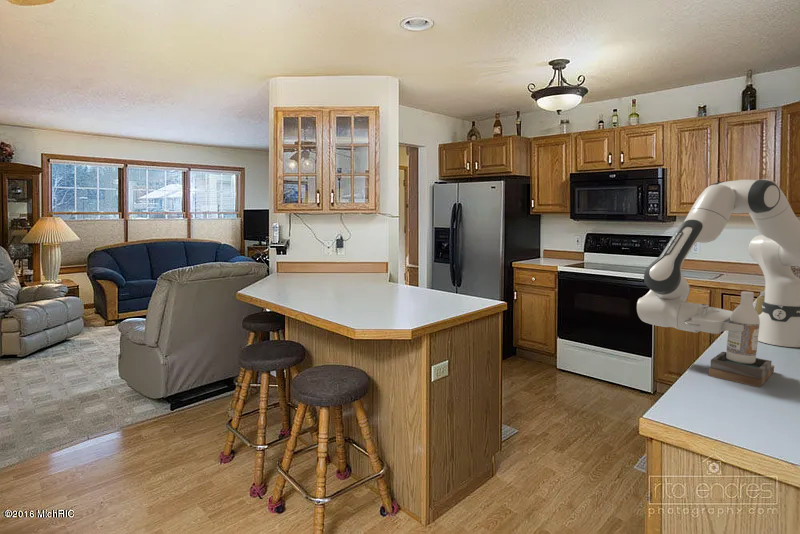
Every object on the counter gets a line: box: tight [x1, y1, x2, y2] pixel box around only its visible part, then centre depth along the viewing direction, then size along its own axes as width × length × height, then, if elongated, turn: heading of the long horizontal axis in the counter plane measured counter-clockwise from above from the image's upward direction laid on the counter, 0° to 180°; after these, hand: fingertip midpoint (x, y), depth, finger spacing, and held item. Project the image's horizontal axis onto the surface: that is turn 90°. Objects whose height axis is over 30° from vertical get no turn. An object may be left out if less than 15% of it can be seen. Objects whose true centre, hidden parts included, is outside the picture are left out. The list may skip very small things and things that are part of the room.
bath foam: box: [725, 290, 760, 364], centre depth 136 cm, size 7×7×20 cm
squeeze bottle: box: [754, 289, 765, 315], centre depth 196 cm, size 8×8×18 cm
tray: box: [708, 351, 775, 388], centre depth 139 cm, size 18×12×4 cm, turn 132°
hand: (747, 326), depth 136 cm, fingers closed on bath foam, 7 cm apart
